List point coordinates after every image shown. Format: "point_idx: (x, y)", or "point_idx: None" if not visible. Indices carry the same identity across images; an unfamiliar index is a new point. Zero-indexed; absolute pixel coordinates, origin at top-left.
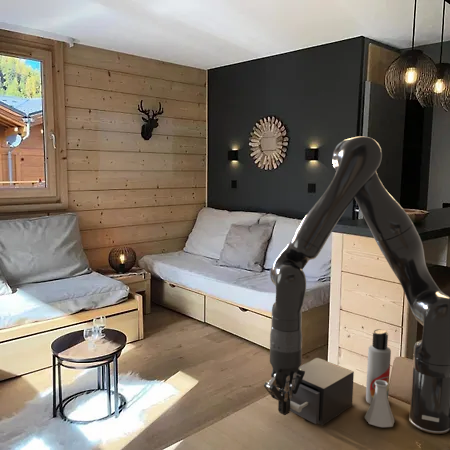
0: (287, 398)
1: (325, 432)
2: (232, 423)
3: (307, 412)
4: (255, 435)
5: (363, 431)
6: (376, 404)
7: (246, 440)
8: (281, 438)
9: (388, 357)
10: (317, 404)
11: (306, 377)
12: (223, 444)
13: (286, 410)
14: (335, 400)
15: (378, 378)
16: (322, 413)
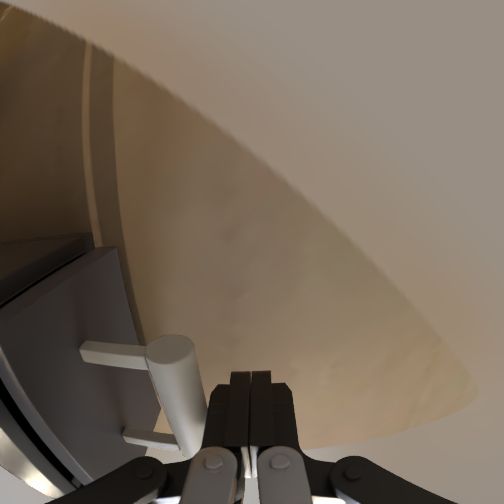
0: (264, 464)
1: (116, 185)
2: (362, 429)
3: (110, 316)
4: (376, 360)
5: (21, 108)
6: None
7: (416, 353)
8: (324, 290)
9: None
10: (44, 289)
11: (10, 453)
12: (458, 367)
13: (266, 390)
14: None
15: None
16: (56, 252)
